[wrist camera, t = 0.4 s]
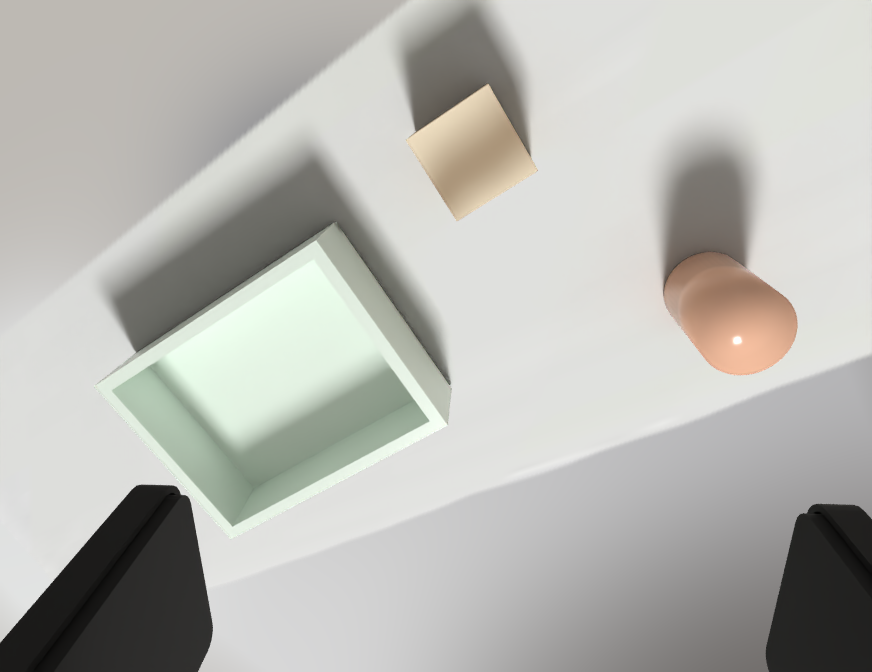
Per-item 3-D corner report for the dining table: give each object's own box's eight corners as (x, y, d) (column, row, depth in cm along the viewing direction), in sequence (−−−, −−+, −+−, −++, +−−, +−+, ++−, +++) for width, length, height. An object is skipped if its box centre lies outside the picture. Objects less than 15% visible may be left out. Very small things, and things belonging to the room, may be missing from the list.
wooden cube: (415, 132, 38) (405, 140, 33) (488, 83, 37) (488, 84, 32) (460, 204, 39) (456, 221, 35) (531, 159, 38) (538, 170, 33)
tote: (335, 221, 40) (316, 240, 35) (451, 388, 44) (447, 425, 39) (134, 354, 45) (93, 386, 40) (255, 495, 48) (231, 539, 44)
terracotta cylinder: (695, 237, 39) (737, 269, 32) (763, 275, 39) (818, 314, 33) (647, 305, 41) (678, 349, 34) (714, 340, 41) (756, 390, 35)
